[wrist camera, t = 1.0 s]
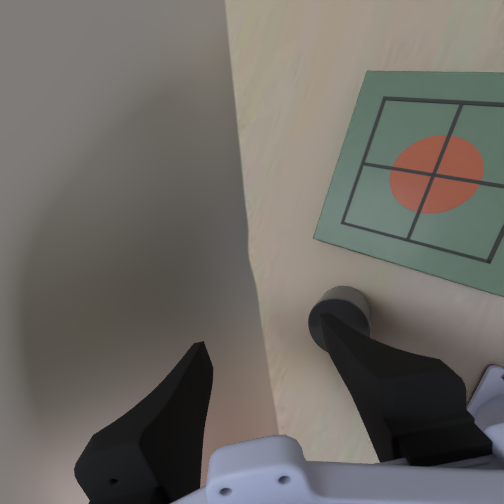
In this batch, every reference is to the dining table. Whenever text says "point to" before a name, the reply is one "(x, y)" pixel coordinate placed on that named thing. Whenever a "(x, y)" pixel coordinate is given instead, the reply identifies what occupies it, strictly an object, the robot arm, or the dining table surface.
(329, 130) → the dining table surface
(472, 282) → the board
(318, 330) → the dark grey canister
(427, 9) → the dining table surface
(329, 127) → the dining table surface
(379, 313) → the dining table surface
